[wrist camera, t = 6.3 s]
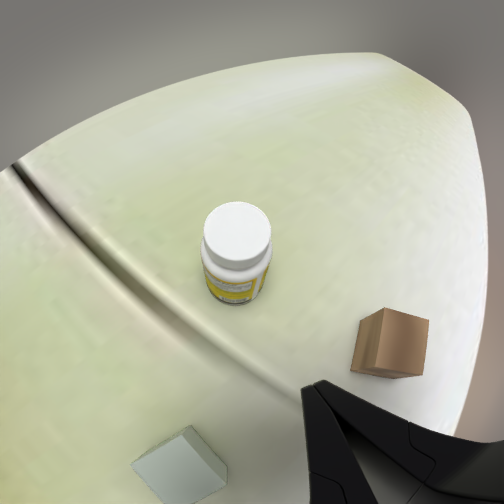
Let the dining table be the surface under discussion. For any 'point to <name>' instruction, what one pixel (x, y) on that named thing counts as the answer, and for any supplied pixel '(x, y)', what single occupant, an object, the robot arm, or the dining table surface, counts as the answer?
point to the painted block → (181, 469)
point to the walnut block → (391, 345)
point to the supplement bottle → (236, 252)
